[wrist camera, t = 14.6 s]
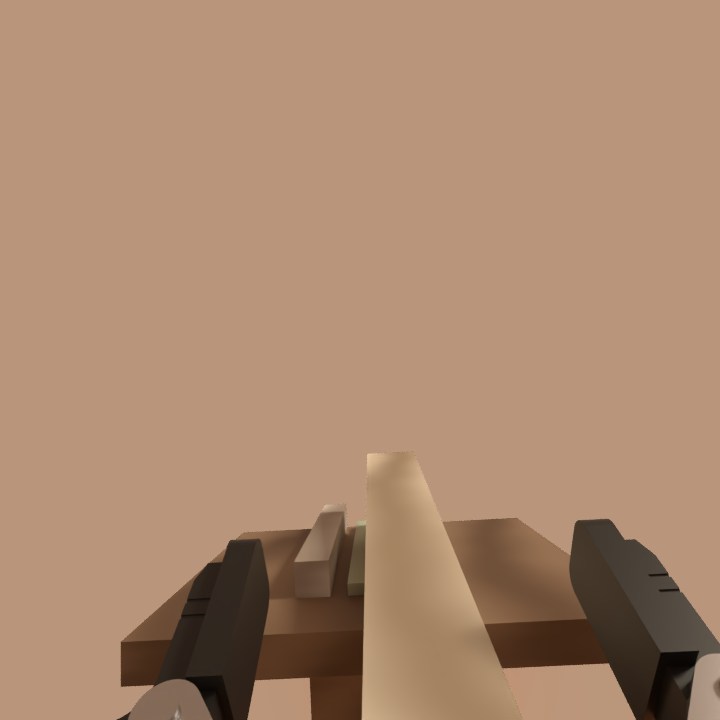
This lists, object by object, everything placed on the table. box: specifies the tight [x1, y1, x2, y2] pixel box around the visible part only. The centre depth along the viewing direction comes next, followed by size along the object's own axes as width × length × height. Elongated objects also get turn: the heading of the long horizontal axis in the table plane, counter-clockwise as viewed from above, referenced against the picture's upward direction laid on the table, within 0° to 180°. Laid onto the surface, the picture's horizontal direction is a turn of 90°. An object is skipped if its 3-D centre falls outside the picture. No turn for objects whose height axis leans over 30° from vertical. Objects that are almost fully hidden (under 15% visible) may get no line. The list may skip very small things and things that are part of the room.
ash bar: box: [362, 451, 523, 720], centre depth 21 cm, size 3×24×3 cm, turn 178°
